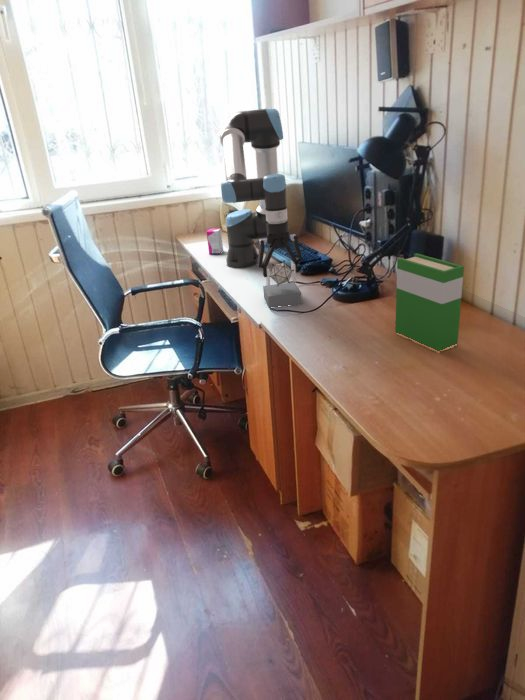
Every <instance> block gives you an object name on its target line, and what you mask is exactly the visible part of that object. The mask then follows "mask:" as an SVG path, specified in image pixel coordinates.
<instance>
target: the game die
mask: <svg viewBox="0 0 525 700" xmlns="http://www.w3.org/2000/svg"><path fill="white" fill-rule="evenodd" d="M271 265H272V269H271V272H270V273H269V275H270V278H271V280H273V281H274V282H275V284H278V285H277V286H279V284H283V283H291V281H290V279H291V277H292V271H294V270H291V267H289V266H288V265H287V264H286V261H285V260H283V262H282V263H281V262H280V263H277V264H274V263H271Z"/></svg>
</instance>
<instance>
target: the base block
mask: <svg viewBox="0 0 525 700" xmlns="http://www.w3.org/2000/svg"><path fill="white" fill-rule="evenodd" d="M277 285H278V284H277V283H275V284H270V286H267V285H263V286H262V287H263V288H262V289H263V298H264V301H265V300H266V301H265V303H266V305H267V308H268V309H269V308H271V307H278V306H287V307H289V306H288V305H294V306H300V305H299V304H302V303H303V302H302V292H301V290H300V288H299V287H298V285H297V283H296V282H294V281H290V283H288V282H285V283H282V284H279V286H277ZM302 305H303V304H302ZM271 309H272V308H271Z"/></svg>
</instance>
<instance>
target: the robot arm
mask: <svg viewBox="0 0 525 700" xmlns="http://www.w3.org/2000/svg"><path fill="white" fill-rule="evenodd" d="M283 139H284V132H283V126H282V122H281V115H280V113H279V110H278V109H276V108H261V109H260V108H259V109H253V110H241V111H237V112H235V113H233V114H231V115H230V116H229V117H228V118H227V119H226V120H225V122H224V123H223V124H222V126H221V129H220V133H219V140H220V144H221V146H222V147H223V157H224V171H225V180H224V181H221V183H220V191H221V199H222V202H223V203H226V204H229V203H233V204H236V203H243V202H252V201H254V202H256V201H259V202H258V206H257V207H256V210H255V212H252V209H249V208H246V209H245V208H244V209H238V210H236V211H233V212H230V213H228V214H227V215H226V217H225V227H226V231H227V232H226V233H227V242H228V243H227V245H228V250H227V255H226V259H225V260H226V261H225V262H226V265H227V266H228V267H230V268H236V269H237V268H248V267H254V266H257V268H258V269H262V276H263V277H264V278H265V284H266V286H270V285H271V279H270V278H271V277H270V268H269V267H268V266H269V263H270V261H271V258H272V256H273V253H274V252H275V250H278V249H283V248H284V249H285V251H286V252H287V254H288V256H289V258H290V259H291V260H292V262H290V269H291V270H294V271H292V273H291V281H292V282H295V283H296V282H297V273H298V272H299V263H300V262H303V261H304V260H303V256H302V253H301V249H300V246H299V245H300V244H299V242H298V238H299V237H298V235H297V234H295V233H293V234H290V232H289V222H288V205H287V201H288V200H287V182H286V177H285V175H284V174H282V173H281V174H280V173H278V155H277V148H278V147H279V146H280V144H281V141H282V140H283ZM245 143H247V144H248V143H250V144H251V146H250V147H251V148H252V149H253V150H255V160H256V161H255V162H256V163H255V164H256V173H257V174H256V176H257V178H248V177H247V171H246V170H247V169H246V159H245V152H244V144H245ZM255 240H258V243H259V249H258V251H257V248H256V245H255ZM289 240H291V242H292V246H293V248H294V253H295V254H294V253H293V251H292V250H291V247H290V246H289V244H288V242H289ZM267 243H268V244H269V245H268V249H267V252H266V254H265V248H266V247H265V246H266V245H267ZM264 254H265V255H264ZM264 256H265V257H264Z"/></svg>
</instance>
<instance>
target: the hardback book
mask: <svg viewBox="0 0 525 700" xmlns="http://www.w3.org/2000/svg"><path fill="white" fill-rule="evenodd" d="M396 265H397V266H396V295H395V296H396V297H395V298H396V299H395V331H394V333H395V332H396V333H399V334H402V335H404V336H406V337H408V338H411V339H413V340H415V341H417V342H419V343H421V344H424V345H426V346H428V347H431V348H433V349H435V350H437V351H440V350H443V349H445V348H447V347H450V346H452V345H455V344H457V343H458V341H459V333H460V332H459V331H460V330H459V329H460V320H461V319H460V318H461V308H462V306H461V305H462V295H463V294H462V292H463V285H464V283H463V282H464V271H465V266H464V265H462V264H461V265H460V264H458V263H453V262H451V261H446V260H442V259H439V258H435V257H432V256H431V257H430V256H427V255H425V254H421V253H413V257H409V258H405V259H404V258H402V257H398V258H397V263H396ZM458 344H459V343H458ZM458 344H457V345H458Z"/></svg>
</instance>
